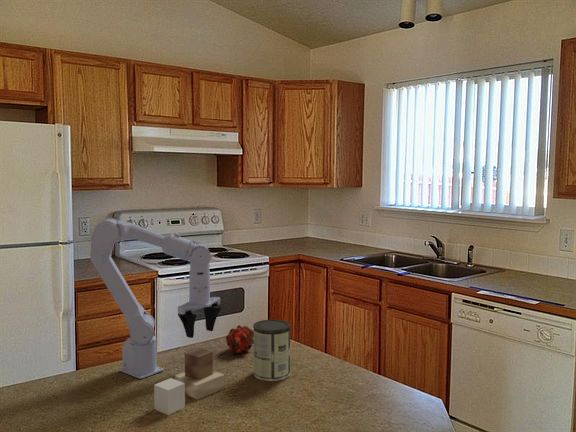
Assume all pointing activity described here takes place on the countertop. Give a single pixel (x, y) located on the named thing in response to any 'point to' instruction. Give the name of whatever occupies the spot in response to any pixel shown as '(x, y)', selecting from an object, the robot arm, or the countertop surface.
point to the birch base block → (202, 384)
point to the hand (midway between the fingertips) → (199, 333)
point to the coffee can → (272, 350)
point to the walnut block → (198, 363)
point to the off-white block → (169, 396)
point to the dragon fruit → (240, 339)
